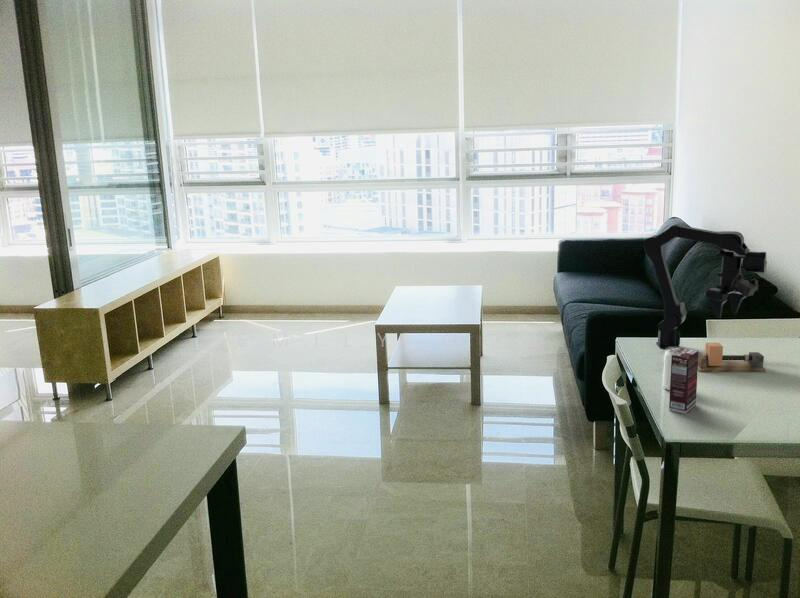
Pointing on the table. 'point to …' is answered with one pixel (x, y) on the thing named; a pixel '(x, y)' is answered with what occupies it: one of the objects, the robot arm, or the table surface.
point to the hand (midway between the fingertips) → (726, 316)
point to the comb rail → (734, 363)
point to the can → (668, 366)
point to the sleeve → (714, 354)
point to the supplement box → (683, 380)
